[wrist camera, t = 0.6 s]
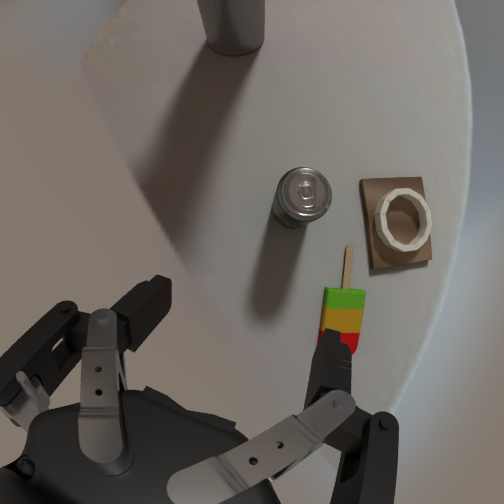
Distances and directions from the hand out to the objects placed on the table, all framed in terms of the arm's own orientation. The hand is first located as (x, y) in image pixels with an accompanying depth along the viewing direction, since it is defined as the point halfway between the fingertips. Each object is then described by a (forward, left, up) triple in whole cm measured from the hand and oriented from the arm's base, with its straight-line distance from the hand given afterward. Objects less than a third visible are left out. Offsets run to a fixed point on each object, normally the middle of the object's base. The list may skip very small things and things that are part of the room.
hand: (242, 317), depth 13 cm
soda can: (-7, +6, -23) cm, 24 cm away
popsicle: (+5, +11, -23) cm, 26 cm away
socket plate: (-4, +21, -22) cm, 31 cm away
